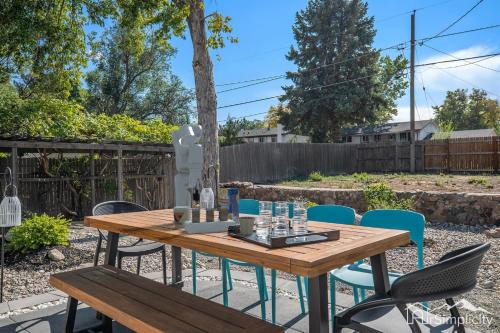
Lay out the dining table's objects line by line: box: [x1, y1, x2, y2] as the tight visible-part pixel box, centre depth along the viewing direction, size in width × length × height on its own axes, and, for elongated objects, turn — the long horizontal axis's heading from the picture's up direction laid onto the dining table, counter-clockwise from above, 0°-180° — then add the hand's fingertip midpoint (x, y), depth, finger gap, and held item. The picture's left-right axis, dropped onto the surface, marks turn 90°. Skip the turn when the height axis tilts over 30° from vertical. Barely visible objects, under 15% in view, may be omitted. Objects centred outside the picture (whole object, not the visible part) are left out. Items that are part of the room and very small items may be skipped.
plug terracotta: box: [218, 206, 228, 221], centre depth 218 cm, size 4×4×8 cm
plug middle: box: [205, 207, 215, 222], centre depth 215 cm, size 4×4×8 cm
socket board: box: [184, 219, 237, 235], centre depth 215 cm, size 12×26×5 cm, turn 112°
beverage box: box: [218, 187, 240, 225], centre depth 240 cm, size 7×11×22 cm, turn 52°
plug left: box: [191, 207, 201, 223], centre depth 212 cm, size 4×4×8 cm
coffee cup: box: [172, 206, 189, 229], centre depth 228 cm, size 9×9×12 cm
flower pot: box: [238, 216, 257, 236], centre depth 202 cm, size 9×9×9 cm
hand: (196, 200), depth 211 cm, fingers closed
